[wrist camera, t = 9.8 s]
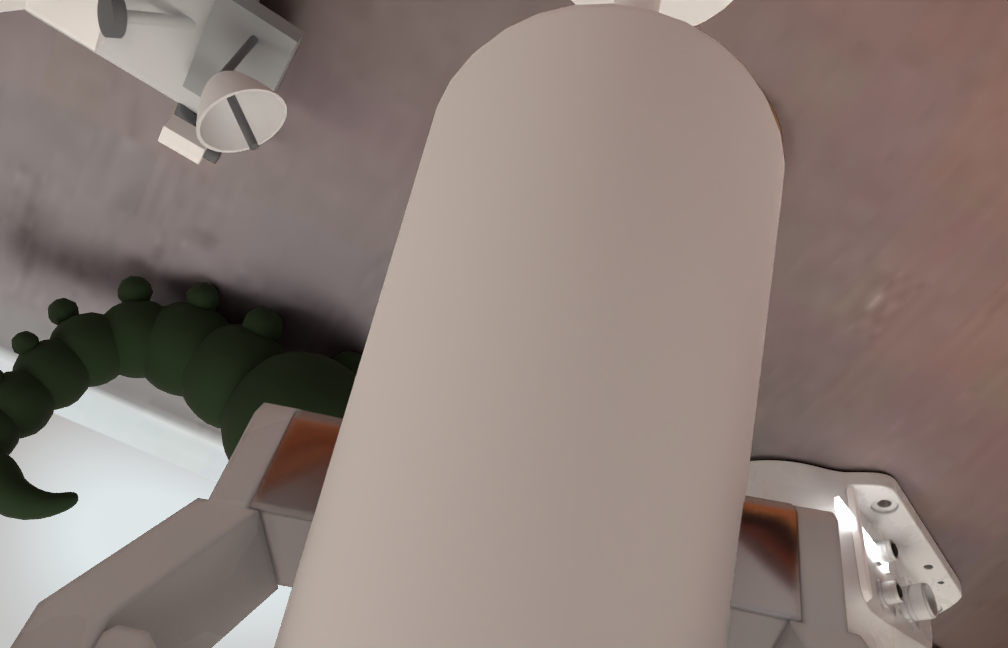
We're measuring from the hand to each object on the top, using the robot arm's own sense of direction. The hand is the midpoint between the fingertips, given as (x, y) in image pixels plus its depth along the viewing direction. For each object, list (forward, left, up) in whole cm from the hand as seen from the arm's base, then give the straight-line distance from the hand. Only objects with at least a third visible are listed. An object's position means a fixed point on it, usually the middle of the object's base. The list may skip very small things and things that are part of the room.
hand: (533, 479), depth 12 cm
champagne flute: (0, 0, -20) cm, 20 cm away
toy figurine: (-5, +40, -32) cm, 51 cm away
